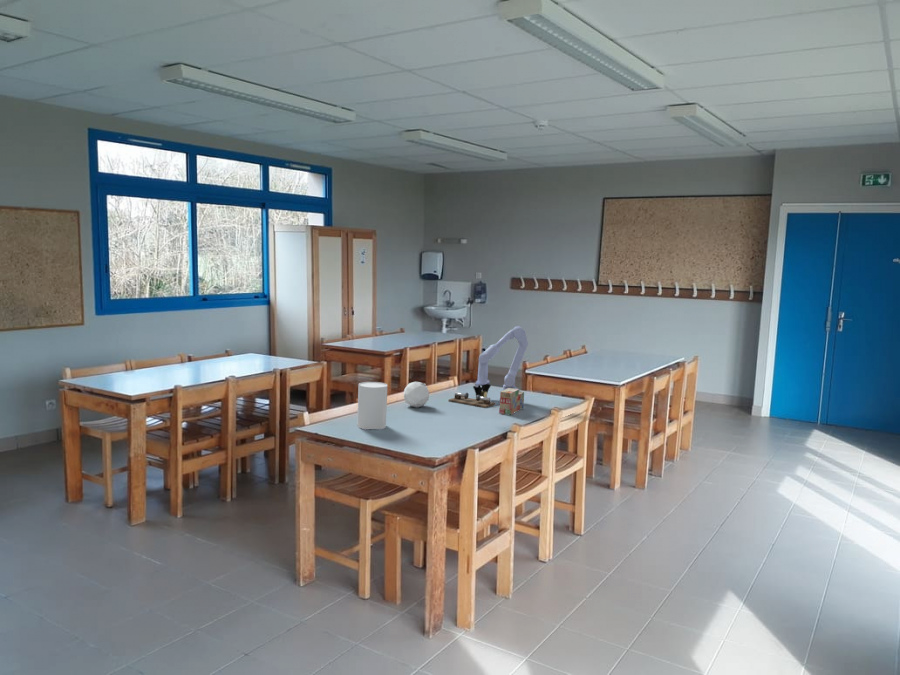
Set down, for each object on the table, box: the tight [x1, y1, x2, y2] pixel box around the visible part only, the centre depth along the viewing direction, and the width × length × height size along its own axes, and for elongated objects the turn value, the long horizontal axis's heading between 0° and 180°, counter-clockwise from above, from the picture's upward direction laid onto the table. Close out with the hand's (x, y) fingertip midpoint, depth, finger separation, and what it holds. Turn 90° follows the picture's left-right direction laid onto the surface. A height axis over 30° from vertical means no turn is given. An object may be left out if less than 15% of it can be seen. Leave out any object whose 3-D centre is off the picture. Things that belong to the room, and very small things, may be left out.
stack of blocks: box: [498, 388, 525, 416], centre depth 363 cm, size 21×6×12 cm, turn 154°
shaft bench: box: [448, 394, 496, 409], centre depth 378 cm, size 24×12×3 cm, turn 59°
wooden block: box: [481, 391, 488, 398], centre depth 387 cm, size 5×4×5 cm
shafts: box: [454, 391, 491, 402], centre depth 378 cm, size 22×4×4 cm, turn 59°
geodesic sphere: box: [403, 381, 430, 408], centre depth 361 cm, size 15×14×14 cm
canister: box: [356, 381, 388, 430], centre depth 315 cm, size 14×14×20 cm
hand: (481, 397), depth 388 cm, fingers open, 7 cm apart
